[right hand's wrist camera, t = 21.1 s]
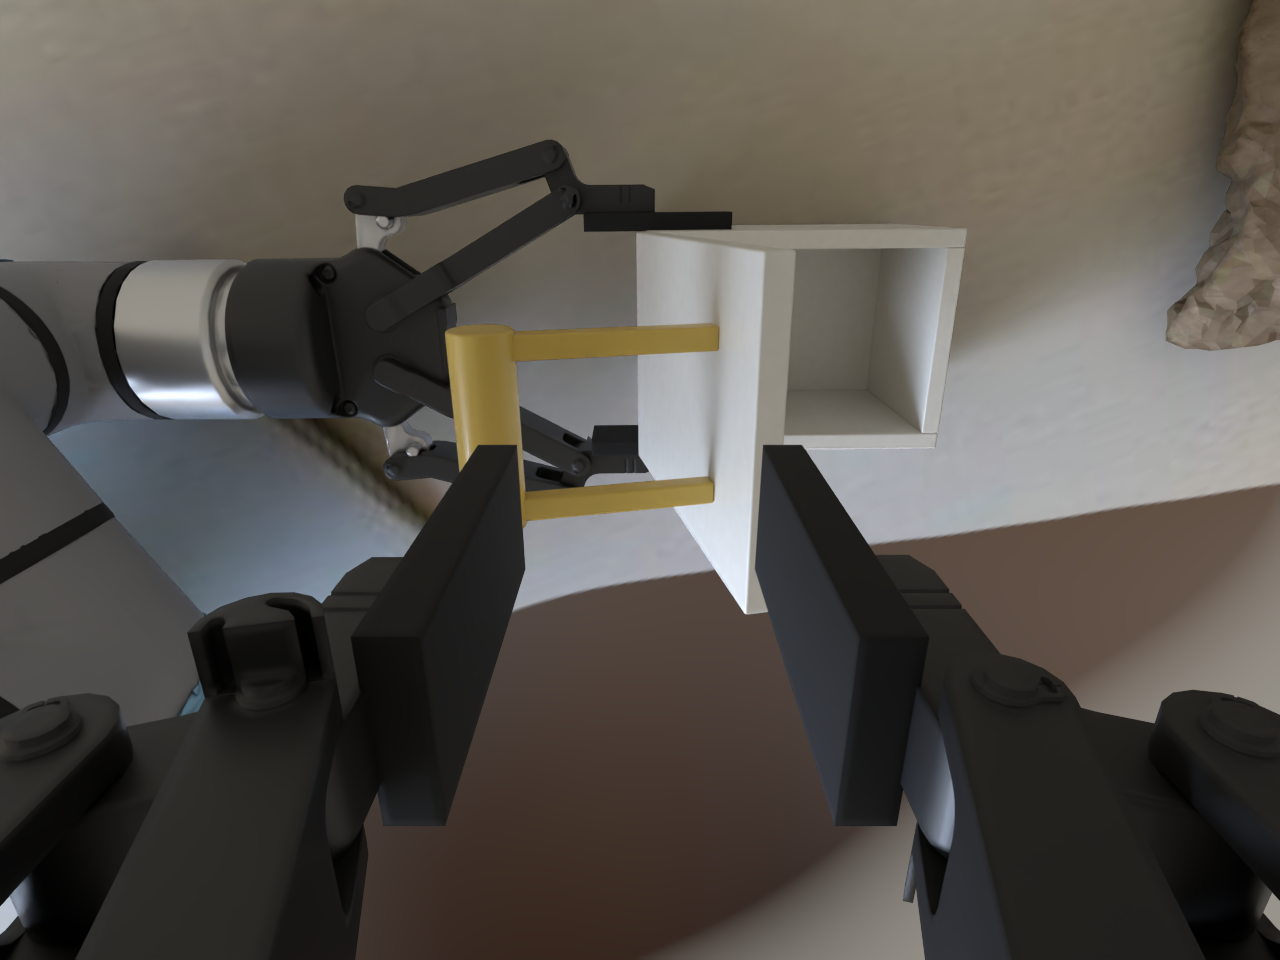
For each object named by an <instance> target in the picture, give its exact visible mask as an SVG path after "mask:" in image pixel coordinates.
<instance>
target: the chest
mask: <svg viewBox="0 0 1280 960" xmlns="http://www.w3.org/2000/svg"><path fill="white" fill-rule="evenodd" d="M967 231H968V230H967V229H966V228H953V227H937V226H922V225H907V224H802V225H732V230H647V231H644V232H659V233H667V234H675V235H682V236H690V237H698V238H706V239H713V240H721V241H729V242H736V243H744V244H752V245H760V246H767V247H775V248H783V249H790V250H795V251H796V262H795V278H794V293H793V308H792V323H791V338H790V353H789V368H788V383H787V398H786V414H785V429H784V444H783V445H802V446H803V447H804V449H805V450H813V449H907V448H935V447H936V441H937V433H938V429H939V422H940V415H941V409H942V402H943V395H944V388H945V381H946V375H947V368H948V361H949V354H950V347H951V341H952V334H953V327H954V320H955V313H956V307H957V300H958V293H959V286H960V279H961V273H962V266H963V259H964V252H965V248H964V247H965V244H966V238H967Z"/></svg>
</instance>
